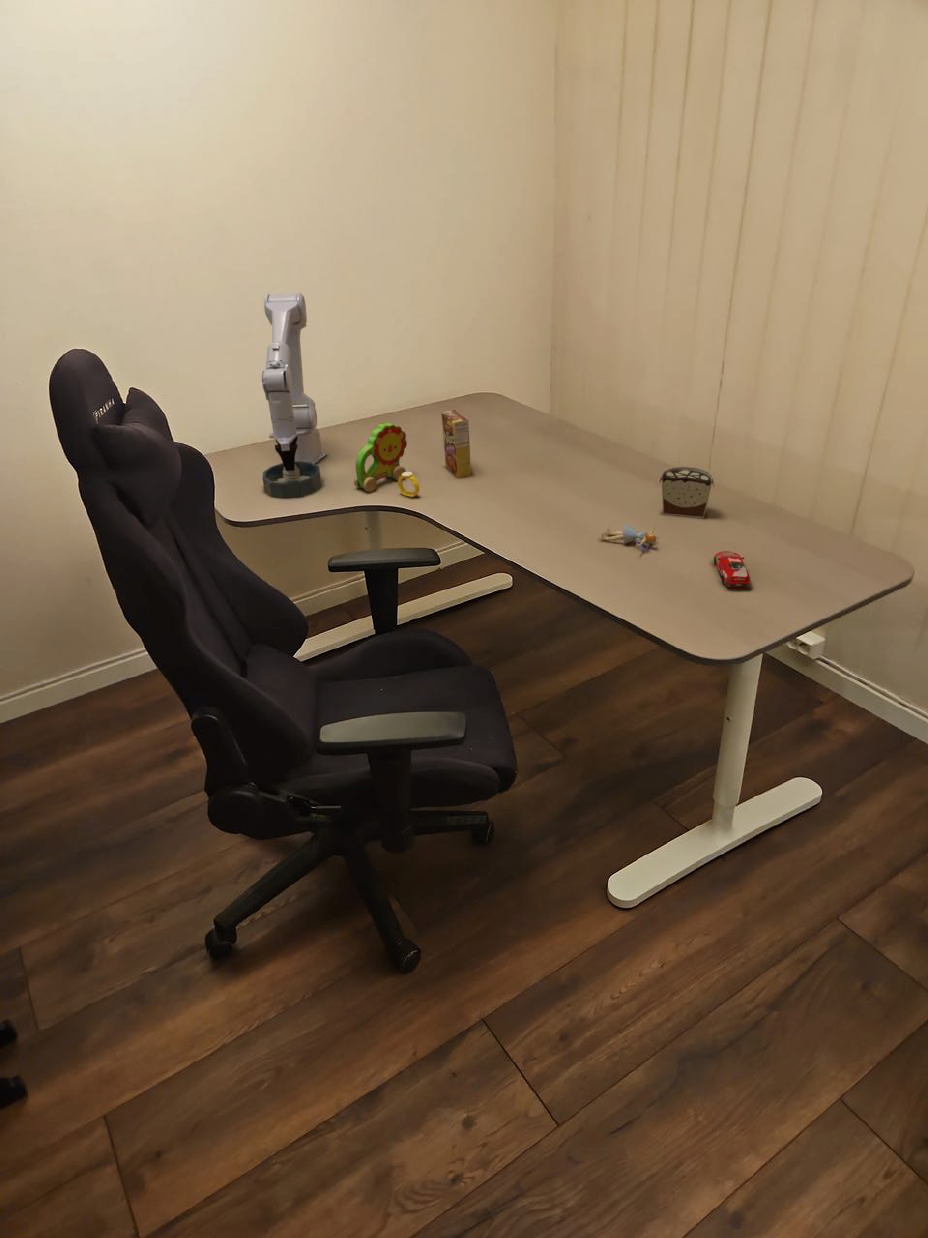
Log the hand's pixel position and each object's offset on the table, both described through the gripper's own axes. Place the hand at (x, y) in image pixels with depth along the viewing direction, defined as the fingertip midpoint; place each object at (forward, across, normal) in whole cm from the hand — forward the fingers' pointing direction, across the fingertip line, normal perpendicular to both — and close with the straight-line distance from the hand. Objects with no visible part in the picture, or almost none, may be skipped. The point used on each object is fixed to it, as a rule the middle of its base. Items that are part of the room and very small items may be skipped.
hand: (290, 467), depth 228 cm
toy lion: (+6, +3, +24) cm, 24 cm away
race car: (+5, +70, +90) cm, 114 cm away
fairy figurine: (+5, +51, +74) cm, 90 cm away
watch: (+6, +14, +29) cm, 33 cm away
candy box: (+6, +1, +43) cm, 44 cm away
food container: (+6, +38, +92) cm, 100 cm away
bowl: (+5, 0, 0) cm, 5 cm away
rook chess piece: (+3, 0, 0) cm, 3 cm away
